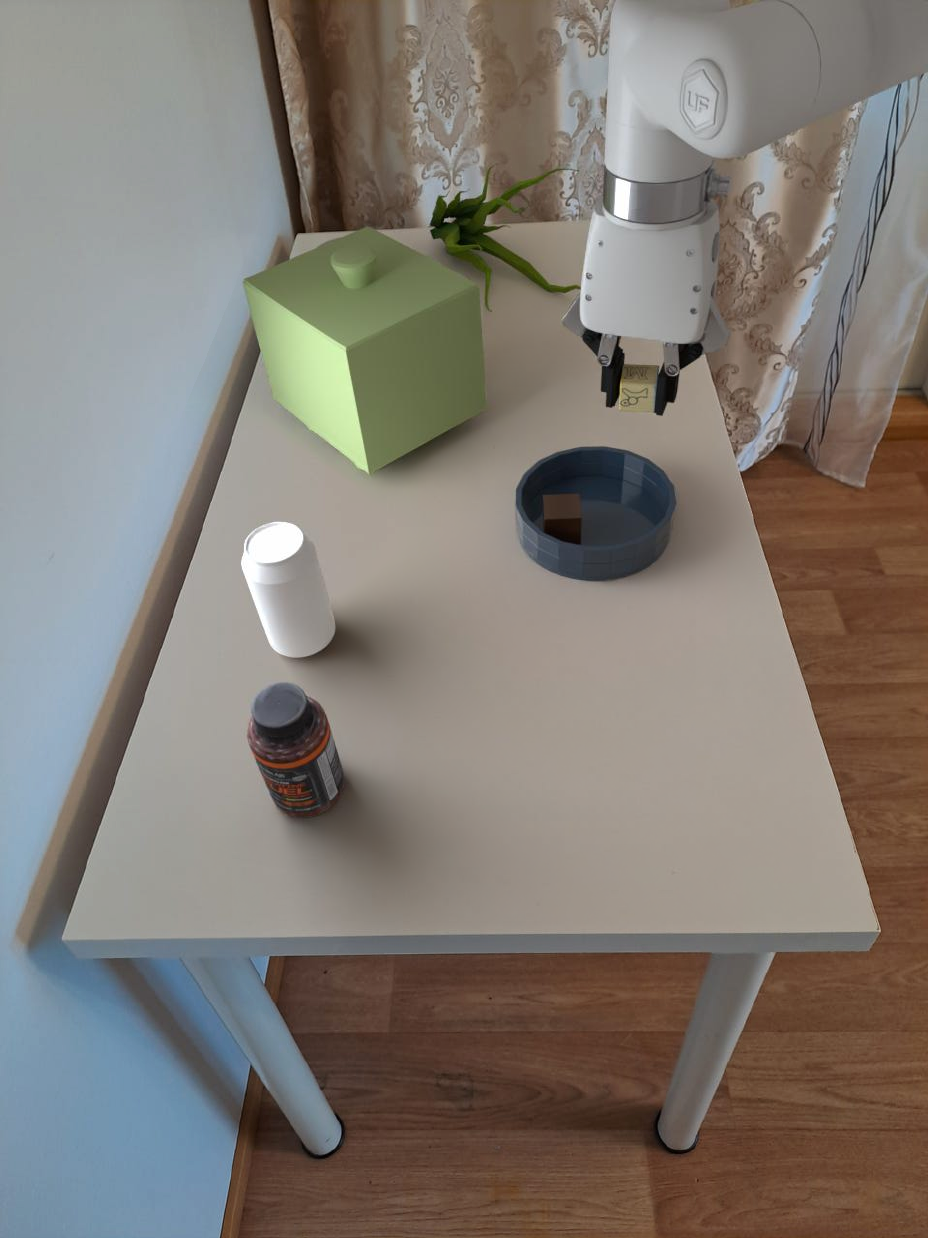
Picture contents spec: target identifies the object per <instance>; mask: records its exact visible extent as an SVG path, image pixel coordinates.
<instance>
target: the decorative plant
mask: <svg viewBox="0 0 928 1238" xmlns="http://www.w3.org/2000/svg"><path fill="white" fill-rule="evenodd" d="M498 165H499V163H495V164H493V165H491V166H490V167H489V168H488V170H487V172H486V176H485V180H484V185H483V187H482V193H481V194H480V195H478V196H476V197H472V198H470V197H469V198H464V199H462V200H461V194H463V193H467V192H468V191H469V189H467V190H466V191H465V190H459V192H457V193H456V195H455V196H454V199H452V200H451V201H450V202H449V203H447V202H446V201H445V199H444V198H447V197H448V195H449V193H450V191H448V192H447V193H446V195H441V194H440V195H439V194H438V195H437V198H436V201H435V206H434V209H433V211H432V217H431V219H430V222H429V226H430V227H433V228H431V229H430V230H429V233H430V234H431V237H432V240H438V239H440V240H441V241H442V242H443V243H444V244H445V247H446V254H447V255H449V256H451V257H453V258H456V259H457V260H461V261H463V262H465V263H468V264H470V265H472V266H473V267H474V268H476V270H478V271H480V272H481V273H482V274H484V275H485V287H484V288H485V289H484V304H485V307H486V309H487V310H488V311H489V312H491V313H492V312H493V311H492V310H491V309H490V307H489V302H488V301H489V299H488V298H489V293H490V286H491V278H492V271H493V270H492V269H491V267H490V266H489V265H488V264H487V263H486V261H485V260H484V258H483V257H481V256H479V255H478V254H476V253H474V252H473V251H478V252H484V253H486V254H488V255H491V256H493V257H495V258H497V259H500V260H501V261H503V262H504V263H506V264H507V265H508V266H509V267H511V268H512V269H514V270H516V271H517V272H519V273H520V274H522V275H523V276H524V277H526V278H527V279H529V280H530V281H532V282H533V283H535V284H537V285H538V286H539V287H541V288H542V289H543V290H546V291H547V292H549V293H558V294H567V293H569V292H572V291H574V290H580V291H581V285H578V284H573V285H567V286H564V285H557V284H551V283H549V281H548V280H547V279H545V278H544V276H542V274H541V273H540V272H539V271H538V270H537V269H536V268H535V266H533V265H532V263H530V262H529V261H527V260H526V259H524V258H523V257H521V256H520V255H518V254H517V253H516V252H515V253H514V252H513V251H512V250H510V249H508V247H505V246H504V245H502V244H501V243H499V242H498V241H497V240H495V239H493V238H492V237H491V236H489V235H487V233H491V232H495V231H498V230H500V229H503V228H505V227H508V228H510V229H512V227H511V226H509V225H507V224H503V225H499V226H496V225H486V221H487V218H488V216H490V215H493V214H496V213H497V212H498V211H499V210H500V209H501V208H502V206H504V207H506V208H507V209H509V210H510V211H511V212H512V213H514V214H522V213H524V211H526V210H527V209H528V208H529V206H530V205H531V203H532V202H533V200H534V198H531V200H530V202H529V203H528V204H527V206H526V207H525V208H523V209H521V210H519V209H515V207H514V206H513V205H512V204H511V203H510V202H509V200H511V198H514V196H515V195H517V194H518V193H519V192H520V191H522V190H524V189H528V188H530V187H532V186H534V185H536V184H539V183H540V182H541V181H543V180H544V179H546V178H547V177H549V176H550V175H552V174H554V173H556V172H561V171H569V170H570V171H575V172H580V170H579V169H573V168H555V169H552V170H550V171H547V172H546V173H543V174H542V175H539V176H538V177H535V178H530V179H525V180H521V181H519V182H517V183H516V184H514V185H513V186H511V187H510V188H507V189H506V190H505V191H504V192H503V193H502V194H501V195H500V196H497V197H495V198H494V199H491V200H489V201H486V200H487V193H488V185H489V178H490V177H489V176H490V172H491V169H493V168H494V167H495V166H498ZM449 218H450V219H454V220H453V221H451V222H449V221H445V220H446V219H449ZM471 250H473V251H471Z"/></svg>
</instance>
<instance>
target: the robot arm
mask: <svg viewBox="0 0 928 1238" xmlns="http://www.w3.org/2000/svg"><path fill="white" fill-rule="evenodd" d="M608 38H609V40H608V41H609V42H608V44H609V45H608V63H607V64H608V67H607V88H606V91H607V93H606V111H605V137H604V138H605V139H604V161H603V182H602V193H601V194H600V195H598V197H597V199H596V202H595V204H594V206H593V209H592V214H591V219H590V223H589V227H588V233H587V238H586V245H585V250H584V251H585V252H584V259H583V267H582V273H581V283H580V287H581V290H580V292H579V293H578V294H577V296H576V297H575V299H574V300H573V302H572V303H571V305H570V306H569V307H568V309H567V310H566V312H565V313H564V315H563V317H562V319H561V324H562V326H563V327H564V328H566V329H567V330H568V331H570V332H571V333H573V335H576V336H577V337H580V338H581V339H582V342H583V343H584V344H585V345H586V347H588V349H590V351H592V353H593V354H594V355H595V356H596V362H597V364H598V365H599V366H601V373H600V374H601V375H600V376H601V377H600V392H601V393H605V408H610V409H612V408H613V407H615V406H616V404H617V402H618V401H619V399H620V382H621V375H622V368H623V364H625V357H626V353H625V352H624V348H622V347H620V344H621V340H622V339H621V338H622V337H624V338H631V339H632V338H633V339H639V340H647V341H653V342H662V349H663V363H662V365H661V368H660V369H659V374H658V379H657V389H656V399H655V409H654V413H653V414H655V415H656V416H659V417H663V415H664V413H665V411H666V408H667V406H668V404H669V403H670V404H674V403H675V401H676V399H677V395H678V390H679V381H680V373H681V370H683V369H684V368H686V367H687V366H690V365H691V364H692V363H694V362H695V361H697V360H699V358H701V356H703V355H708V354H711V353H714V352H717V351H720V350H722V349H724V348H726V347H727V346H728V343H729V340H730V339H731V338H730V337H731V332H730V330H729V329H728V326H727V324H726V323H725V320H724V317H723V316H722V314H721V312H720V309H719V308H718V305H717V304H716V302H715V300H716V294H717V283H718V273H719V272H718V271H719V261H720V260H719V259H720V215H719V214H720V211H719V205H718V202H717V201H716V200H715V199H718V197H719V198H729V195H730V190H731V186H732V176H725V175H722V173H717V168H715V159H713V158H717V159H736V158H739V157H744V156H746V155H749V154H752V153H754V152H756V151H758V150H760V149H763V148H764V147H767V146H769V145H771V144H774V142H777V141H780V140H781V139H783V138H785V137H787V136H789V135H791V134H793V133H796V132H797V131H799V130H801V129H803V128H806V127H808V126H810V125H812V124H814V123H817V122H818V121H821V120H823V119H825V118H828V117H830V116H832V115H834V114H837V113H838V112H841V111H843V110H845V109H847V108H849V107H852V106H854V105H857V104H858V103H860V102H862V101H864V100H866V99H869V98H871V97H873V96H875V95H878V94H880V93H883V92H884V91H888V90H889V89H893V88H894V87H897V86H899V85H901V84H904V83H906V82H908V81H910V80H913V79H914V78H917V77H919V76H921V75H924V74H927V73H928V0H758V1H756V2H755V1H754V2H752V3H748V4H745V5H741V6H738V7H733V8H731V2H730V0H615V1H614V4H613V6H612V10H611V13H610V21H609V37H608Z"/></svg>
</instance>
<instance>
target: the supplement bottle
mask: <svg viewBox="0 0 928 1238" xmlns="http://www.w3.org/2000/svg"><path fill="white" fill-rule="evenodd" d="M250 712H251V717H250V719H249V721H248V723H247V729H246V730H247V731H246V737H247V741H248V746H249V749H250V750H251V753H252V755H253V757H254V760H255V763H256V765H257V768H258V769H259V772H260V774H261V777H262V780H263V781H264V784H265V786H266V788H267V791H268V793H269V796H270V797H271V800H272V802H273V803H274V805H275V806H276V807H277V808H278V810H280V811H281V812H282V813H284V814H286V815H288V816H291V817H294V818H310V817H315V816H318V815H320V814H323V813H325V812H326V811H328V810H329V809H330V808H332V807H333V806H334V805H335V804H336V803H337V801H338V800H339V799H340V797H341V796H342V793H343V791H344V787H345V774H344V770H343V765H342V762H341V759H340V757H339V756H340V755H339V752H338V748H337V746H336V741H335V739H334V736H333V732H332V729H331V725H330V723H329V719H328V716H327V713H326V712H325V709H324V708H323V707H322V705H321V704H320V703H319V702H318V701H317V700H316V699H314V698H313V697H311V696H308V695H307V694H306V693H305V691H304V689H302V688H301V686H299V685H297V684H295V683H293V682H288V681H285V682H284V681H283V682H282V681H281V682H275V683H272V684H270V685H267V686H266V687H264V688H262V689H261V690H260V691H259V692H258V693H257V694H256V695H255V697H254V698H253V700H252V702H251V707H250Z"/></svg>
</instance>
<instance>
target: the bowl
mask: <svg viewBox="0 0 928 1238" xmlns="http://www.w3.org/2000/svg"><path fill="white" fill-rule="evenodd" d="M557 494H580V504H581V515H582V526H581V545H577V544H572V543H567V542H563V541H560V540H558V539H556V538H554V537H552V536H550V535H548V534H546V533H544V525H543V495H557ZM676 496H677V495H676V489H675V485H674V483H673V482H672V481H671V479H670V477H669V476H668V474H667V473H666V472H665V470H664V469H663V468H661V466H660V467H659V465H657V464H656V463H655V462H653V461H652V460H651V459H649V458H647V457H646V456H643V455H640V454H638V453H635V452H633V451H631V450H629V449H628V450H627V449H622V448H616V447H611V446H606V445H602V446H601V445H597V446H596V445H595V446H578V447H573V448H568V449H564V450H559V451H556V452H554V453H552V454H550V455H548V456H546V457H543V458H541V459H539V460H538V461H536V463H535V464H533V465H532V466H531V467H529V468H528V469H527V470H526V471H525V472H524V473H523V475H522V476H521V479H520V480H519V483H518V485H517V486H516V489H515V503H514V505H515V506H514V507H515V527H516V528H515V529H516V534H517V538H518V541H519V543H520V545H521V547H522V549H523V550H524V552H525V553H526V555H528V557H529V558H531V560H533V561H534V562H535V563H536V564H538V565H539V566H541V567H542V568H544V569H545V570H548V571H549V572H551V573H554V574H556V575H559V576H561V577H565V578H568V579H573V580H577V581H578V580H580V581H587V582H588V581H590V582H591V581H592V582H599V581H600V582H602V581H603V582H604V581H612V580H617V579H622V578H627V577H630V576H632V575H635V574H637V573H639V572H641V571H643V570H646V568H649V567H651V565H653V564H654V563H655V562H657V561H658V560H659V559H660V558H661V556H663V554H664V553H665V551H666V550H667V549H668V546H669V544H670V542H671V537H672V533H673V530H674V524H675V516H676V509H677V497H676Z"/></svg>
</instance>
